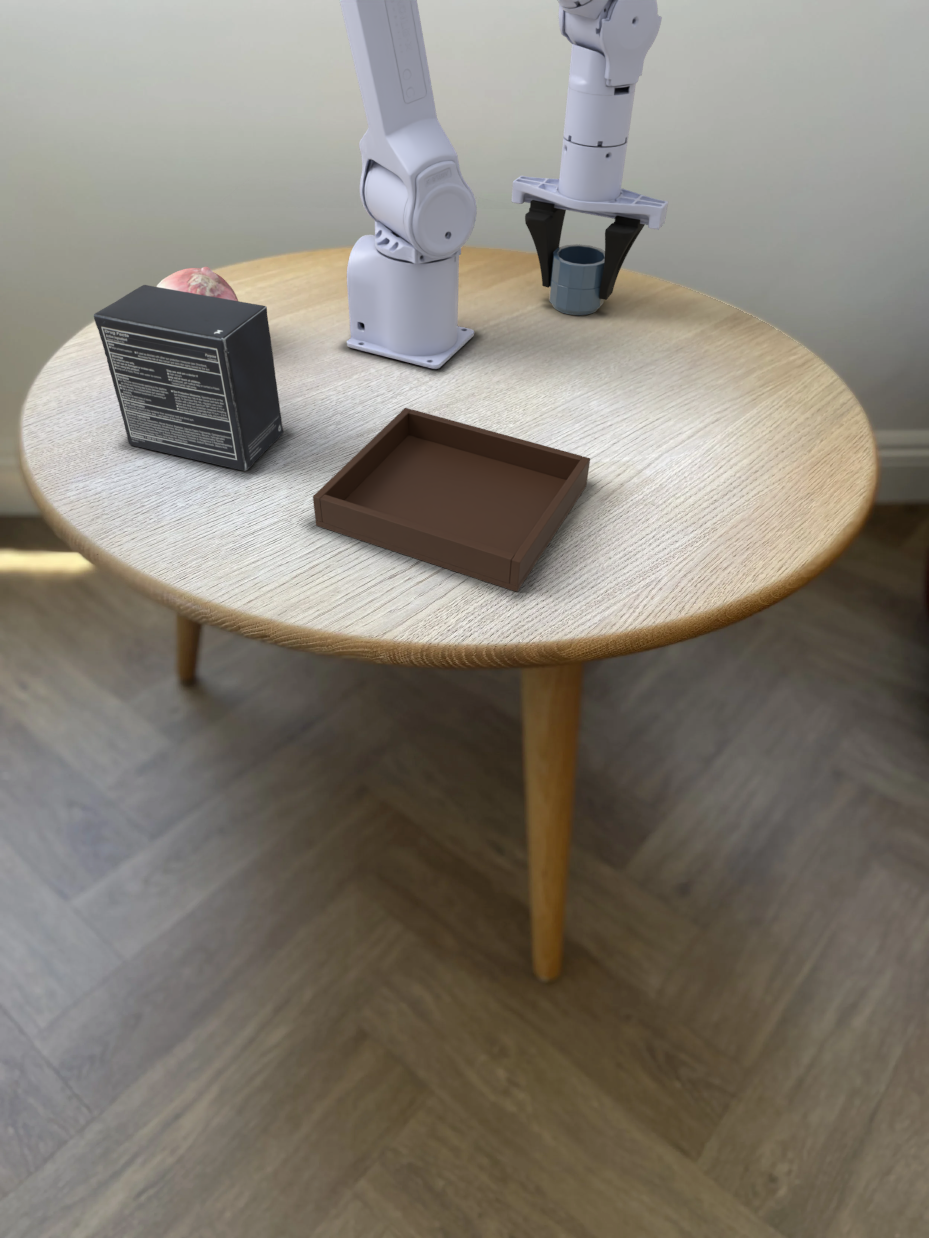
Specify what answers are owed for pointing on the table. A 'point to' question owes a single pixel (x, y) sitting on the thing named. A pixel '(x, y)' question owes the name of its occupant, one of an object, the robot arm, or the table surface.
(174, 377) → the small box
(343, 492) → the tray
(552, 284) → the cup
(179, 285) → the onion
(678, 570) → the table surface
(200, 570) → the table surface
